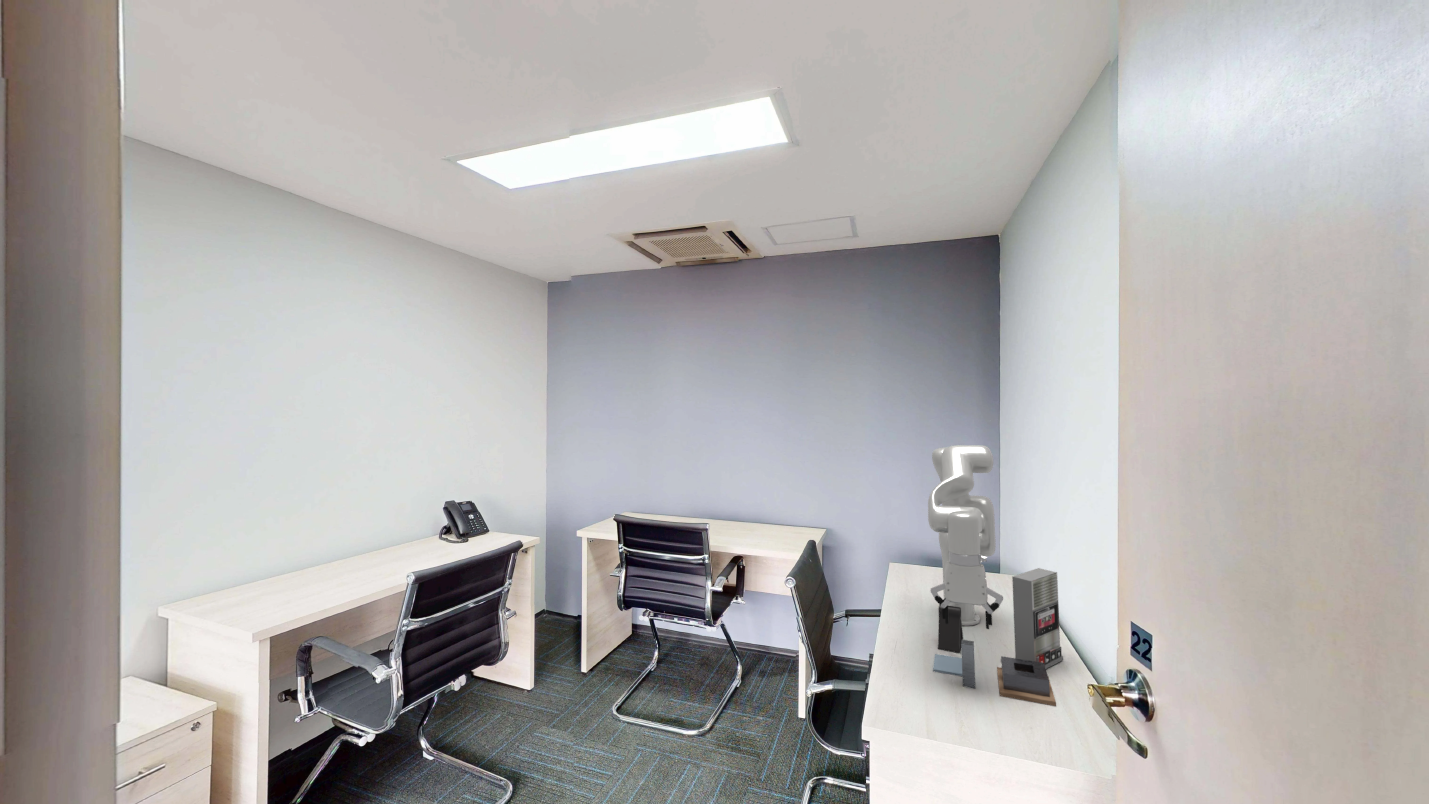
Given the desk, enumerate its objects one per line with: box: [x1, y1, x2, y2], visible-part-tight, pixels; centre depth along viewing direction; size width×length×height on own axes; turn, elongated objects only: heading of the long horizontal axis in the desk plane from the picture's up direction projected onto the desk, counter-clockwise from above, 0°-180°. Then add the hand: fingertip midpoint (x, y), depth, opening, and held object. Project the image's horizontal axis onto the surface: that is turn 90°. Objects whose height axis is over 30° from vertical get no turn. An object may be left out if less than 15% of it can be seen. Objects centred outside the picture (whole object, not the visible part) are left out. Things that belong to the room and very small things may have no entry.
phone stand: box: [937, 603, 964, 654], centre depth 162 cm, size 9×6×12 cm, turn 148°
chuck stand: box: [996, 666, 1057, 707], centre depth 137 cm, size 14×12×1 cm
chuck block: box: [1000, 655, 1050, 697], centre depth 137 cm, size 10×10×4 cm
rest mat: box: [932, 653, 962, 677], centre depth 149 cm, size 10×10×1 cm
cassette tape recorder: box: [1011, 567, 1064, 669], centre depth 150 cm, size 14×6×25 cm, turn 121°
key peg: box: [960, 639, 976, 689], centre depth 139 cm, size 3×3×11 cm
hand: (967, 624), depth 139 cm, fingers open, 9 cm apart
